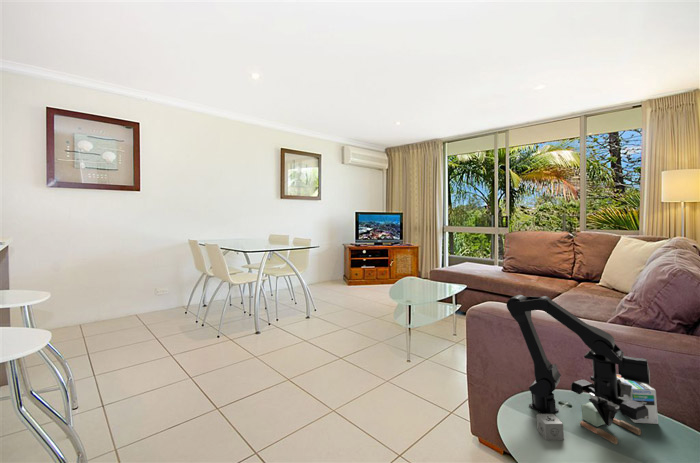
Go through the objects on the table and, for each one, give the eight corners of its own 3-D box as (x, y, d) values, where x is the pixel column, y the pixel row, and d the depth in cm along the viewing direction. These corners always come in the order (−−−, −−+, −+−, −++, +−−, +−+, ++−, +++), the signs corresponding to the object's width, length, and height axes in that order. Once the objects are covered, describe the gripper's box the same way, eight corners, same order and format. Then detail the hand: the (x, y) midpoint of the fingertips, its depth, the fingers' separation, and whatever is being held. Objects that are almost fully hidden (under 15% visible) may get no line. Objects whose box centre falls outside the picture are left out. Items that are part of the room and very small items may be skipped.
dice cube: (546, 440, 94) (545, 424, 94) (537, 430, 99) (536, 414, 99) (563, 440, 94) (562, 423, 94) (554, 429, 99) (553, 413, 99)
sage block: (582, 419, 103) (581, 405, 103) (592, 415, 104) (591, 401, 104) (596, 426, 99) (595, 412, 99) (606, 423, 100) (605, 408, 100)
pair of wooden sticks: (580, 424, 100) (580, 420, 100) (604, 416, 104) (604, 411, 104) (615, 444, 91) (615, 439, 91) (640, 434, 94) (640, 429, 94)
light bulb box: (659, 424, 98) (657, 389, 98) (634, 423, 99) (631, 389, 99) (635, 405, 108) (633, 374, 108) (613, 404, 110) (611, 373, 110)
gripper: (659, 382, 91) (663, 436, 91) (592, 358, 109) (595, 404, 109) (633, 390, 88) (637, 447, 88) (568, 365, 105) (571, 412, 105)
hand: (608, 425), depth 97 cm, fingers closed
